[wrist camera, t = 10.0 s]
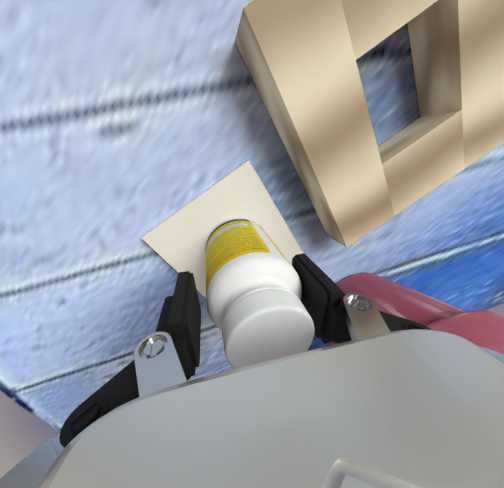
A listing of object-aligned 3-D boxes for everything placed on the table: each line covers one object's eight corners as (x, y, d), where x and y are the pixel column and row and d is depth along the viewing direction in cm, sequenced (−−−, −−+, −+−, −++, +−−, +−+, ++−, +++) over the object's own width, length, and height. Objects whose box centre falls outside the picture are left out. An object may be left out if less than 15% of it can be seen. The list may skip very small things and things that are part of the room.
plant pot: (407, 234, 21) (636, 321, 10) (397, 320, 28) (531, 434, 16) (287, 278, 20) (394, 434, 9) (305, 358, 27) (381, 509, 15)
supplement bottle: (193, 259, 16) (181, 377, 8) (224, 204, 15) (252, 269, 6) (247, 281, 19) (285, 392, 10) (278, 233, 17) (354, 313, 8)
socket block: (470, 137, 18) (515, 134, 16) (327, 234, 19) (346, 247, 16) (464, -135, 11) (547, -229, 8) (234, 41, 12) (243, 8, 9)
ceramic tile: (301, 252, 19) (304, 254, 19) (220, 307, 20) (220, 311, 19) (247, 160, 15) (249, 160, 14) (143, 235, 15) (141, 238, 15)
